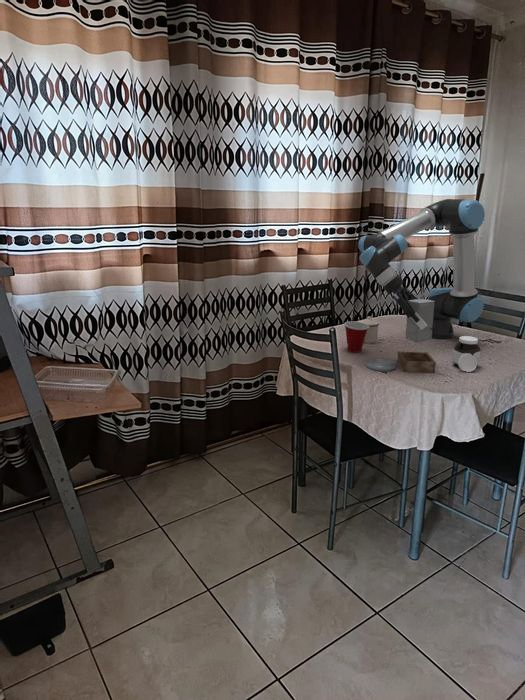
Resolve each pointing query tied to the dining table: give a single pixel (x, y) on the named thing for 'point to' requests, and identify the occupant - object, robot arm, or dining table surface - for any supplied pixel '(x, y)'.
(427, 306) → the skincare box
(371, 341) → the teacup with lid
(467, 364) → the spread jar
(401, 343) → the dining table surface
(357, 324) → the plastic cup
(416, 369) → the walnut collar
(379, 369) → the slate plate
